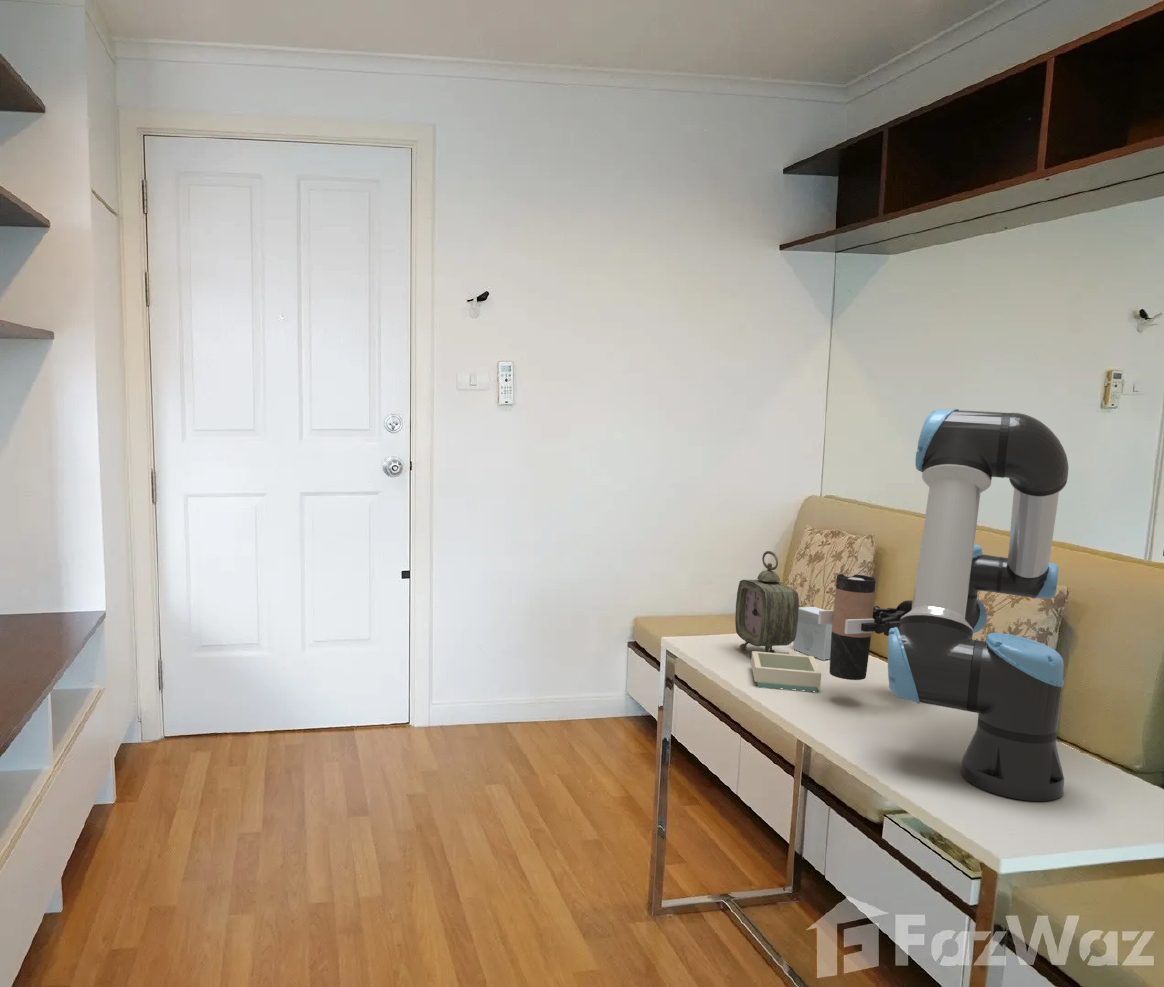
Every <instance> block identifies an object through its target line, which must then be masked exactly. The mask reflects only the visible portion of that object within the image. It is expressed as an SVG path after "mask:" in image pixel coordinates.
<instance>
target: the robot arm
mask: <svg viewBox="0 0 1164 987" xmlns="http://www.w3.org/2000/svg"><path fill="white" fill-rule="evenodd" d="M915 469H916V471H919V472H921V474H922V475H921V478H922V481H923V483H924V484H926V485H927V486H928V495H927V502H926V509H925V515H924V522H923V528H922V529H923V530H922V536H921V543H920V549H919V554H918V556H919V557H918V561H917V562H918V563H917V568H916V575H915V576H916V577H915V581H914V582H915V584H914V591H913V596H912V599H911V600H903V601H902V602H900V603H899V604H898V605H897V606H896V607H887V608H880V606H878V605H875V606H874V607H873V619H849V620H846V621H845V634H861V633H871V634H874V633H876V634H879V635H880V634H883V635H884V636H886V637H887V676H888V678H887V679H888V684H889V686H888V687H889V690H890V692H891V694H893V695H894V697H896V698H898V699H902V700H905V701H911V702H915V703H916V704H918V705H920V704H925V705H926V704H927V705H932V706H936V707H937V706H939V707H944V708H949V709H954V710H955V709H956V710H959V711H964V712H971V713H976V714H977V715H978V716H977V727H976V730H975V731H974V733H973V735H972V738H971V740H970V742H969V744H968V746H967V748H966V750H965V752H964V754H963V757H962V760H961V767H960V769H961V770H960V774H961V776H962V777H963V778H964V780H965V781H967V782H969V783H970V785H971V784H972V785H973V786H974V787H977V788H979V789H980V790H983V791H986V792H988V793H991V794H994V795H998V796H1002V797H1006V798H1011V799H1014V800H1015V799H1016V800H1021V801H1031V802H1047V801H1053V800H1057V799H1059V798H1061V797H1062V796H1063V795H1064V786H1065V777H1064V772H1063V768H1062V763H1061V759H1060V756H1059V751H1058V746H1057V738H1058V737H1057V734H1058V728H1059V727H1058V726H1059V716H1060V705H1061V697H1062V696H1061V695H1062V687H1064V686H1065V685H1064V684H1065V680H1064V666H1065V664H1064V663H1065V662H1064V659H1063V657H1062V656H1061V655H1060V653H1059V652H1058V651H1057V650H1055V649H1054V648H1052V647H1050V646H1048V645H1046V644H1044V643H1041V642H1039V641H1037V640H1033V639H1029V638H1027V637H1023V636H1019V635H1015V634H1010V633H1001V632H991V633H988V634H987V635H986V637H985V638H984V641H983V640H975V639H973V637H974V636H973V634H974V633H978V632H980V631H981V630H983V629H984V627H985V625H986V624H987V620H988V614H987V611H986V607H985V605H984V604H983V602H981V601H980V600H979V599H978V595H979V594H978V592H979V591H980V592H989V593H997V594H1003V595H1011V596H1018V597H1024V598H1030V599H1046V600H1051V599H1053V598H1055V597H1056V595H1057V586H1058V579H1059V578H1058V577H1059V566H1058V565H1057V563H1055V562H1054V563H1053V562H1050V561H1051V553H1052V547H1053V546H1052V545H1053V540H1054V539H1053V538H1054V532H1055V531H1054V530H1055V526H1056V525H1055V524H1056V519H1057V518H1056V517H1057V510H1058V503H1059V497H1060V496H1059V495H1060V492H1062V490H1063V489H1064V488H1065V487H1066V485H1067V483H1068V477H1069V460H1068V457H1067V453H1066V451H1065V449H1064V447H1063V445H1062V442H1061V441H1060V439H1059V438H1058V437H1057V435H1056V434H1055V433H1054V432H1053V431H1052V430H1051V428H1050V427H1049V426H1047V425H1046V424H1045V423H1043V422H1042V421H1040V420H1039V419H1037V418H1035V417H1033V416H1031V415H1028V414H1025V413H1022V412H1021V413H1020V412H1001V411H1000V412H999V411H997V412H996V411H982V410H981V411H979V410H978V411H977V410H961V409H960V410H959V409H958V408H952V409H935V410H932V411H931V412H929V414H928V415H927V417H926V418H925V420H924V422H923V424H922V428H921V430H920V434H919V437H918V441H917V449H916V452H915ZM992 478H1001V479H1004V478H1007V479H1008V481H1009V483H1010V486H1012V488H1013V494H1012V506H1011V508H1012V509H1011V518H1010V530H1009V542H1008V556H1007V557H1003V556H998V555H997V556H995V555H989V554H983V548H982V547H981V545H978V544H975V540H976V533H977V524H978V517H979V516H978V515H979V509H980V508H979V507H980V502H981V500H980V499H981V494H982V493H983V492H985V491H987V490H988V489H989V488H990V487H991V485H992ZM833 611H834V609H823V610H819V617H818V624H832V622H833Z"/></svg>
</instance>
